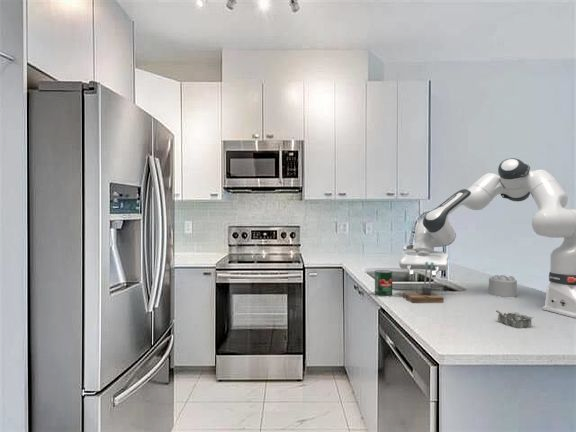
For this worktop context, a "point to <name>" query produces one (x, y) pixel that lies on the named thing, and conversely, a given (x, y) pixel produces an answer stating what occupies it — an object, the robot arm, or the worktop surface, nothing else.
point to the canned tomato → (383, 283)
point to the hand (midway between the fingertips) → (422, 275)
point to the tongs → (427, 289)
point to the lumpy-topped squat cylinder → (503, 286)
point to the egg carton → (514, 319)
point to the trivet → (422, 297)
